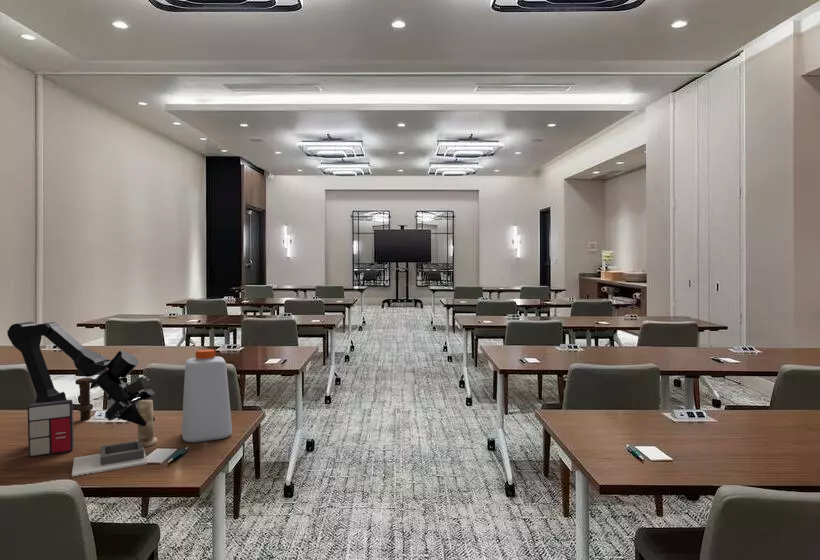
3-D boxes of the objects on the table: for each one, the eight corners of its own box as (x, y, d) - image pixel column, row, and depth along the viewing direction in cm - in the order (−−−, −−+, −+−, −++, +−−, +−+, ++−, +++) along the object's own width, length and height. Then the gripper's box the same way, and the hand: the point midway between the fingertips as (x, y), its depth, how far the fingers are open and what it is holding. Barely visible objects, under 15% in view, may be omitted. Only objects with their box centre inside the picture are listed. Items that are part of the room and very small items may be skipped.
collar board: (71, 477, 142) (71, 466, 142) (74, 459, 155) (73, 450, 155) (147, 463, 151) (147, 454, 151) (143, 448, 164) (143, 439, 164)
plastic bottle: (182, 445, 167) (180, 355, 167) (181, 432, 181) (179, 349, 180) (233, 438, 173) (232, 351, 173) (228, 426, 187) (227, 345, 187)
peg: (135, 448, 165) (134, 404, 164) (133, 442, 170) (133, 400, 170) (158, 444, 168) (157, 402, 168) (156, 439, 173) (155, 397, 173)
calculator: (28, 458, 157) (26, 407, 157) (30, 453, 161) (29, 403, 161) (72, 451, 162) (71, 402, 162) (73, 447, 166) (72, 399, 166)
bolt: (85, 422, 194) (84, 380, 194) (73, 421, 195) (72, 380, 195) (97, 417, 200) (96, 377, 200) (85, 417, 201) (84, 377, 201)
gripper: (113, 375, 159) (150, 412, 159) (148, 364, 178) (181, 397, 178) (89, 401, 160) (125, 439, 160) (126, 388, 179) (159, 421, 178)
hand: (149, 422), depth 169 cm, fingers closed on peg, 4 cm apart
